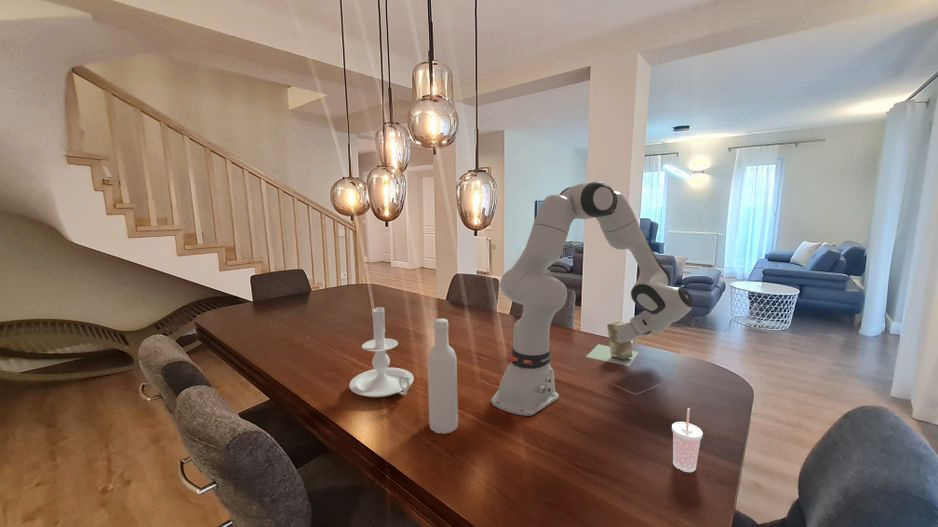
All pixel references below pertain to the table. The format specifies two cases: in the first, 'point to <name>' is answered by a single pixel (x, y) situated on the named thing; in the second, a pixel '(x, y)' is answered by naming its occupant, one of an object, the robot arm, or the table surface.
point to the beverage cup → (686, 444)
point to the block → (618, 342)
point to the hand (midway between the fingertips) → (627, 339)
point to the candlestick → (381, 365)
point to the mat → (609, 355)
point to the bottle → (442, 382)
